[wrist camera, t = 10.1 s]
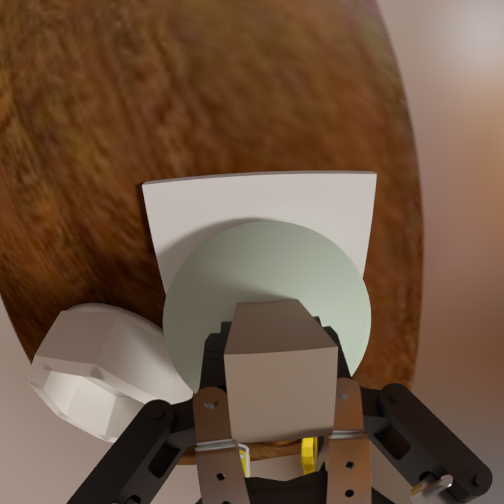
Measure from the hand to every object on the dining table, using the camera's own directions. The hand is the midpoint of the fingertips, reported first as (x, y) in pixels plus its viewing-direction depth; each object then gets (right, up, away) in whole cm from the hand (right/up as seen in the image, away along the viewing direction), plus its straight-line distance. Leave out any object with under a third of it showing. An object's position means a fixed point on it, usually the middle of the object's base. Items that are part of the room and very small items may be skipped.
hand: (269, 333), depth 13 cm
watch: (+6, -17, +16) cm, 24 cm away
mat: (0, +2, +4) cm, 5 cm away
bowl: (-12, -5, +8) cm, 15 cm away
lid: (0, 0, +2) cm, 2 cm away
